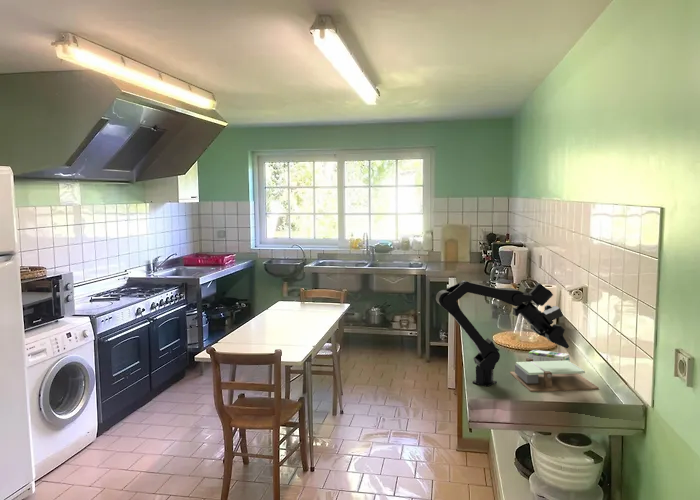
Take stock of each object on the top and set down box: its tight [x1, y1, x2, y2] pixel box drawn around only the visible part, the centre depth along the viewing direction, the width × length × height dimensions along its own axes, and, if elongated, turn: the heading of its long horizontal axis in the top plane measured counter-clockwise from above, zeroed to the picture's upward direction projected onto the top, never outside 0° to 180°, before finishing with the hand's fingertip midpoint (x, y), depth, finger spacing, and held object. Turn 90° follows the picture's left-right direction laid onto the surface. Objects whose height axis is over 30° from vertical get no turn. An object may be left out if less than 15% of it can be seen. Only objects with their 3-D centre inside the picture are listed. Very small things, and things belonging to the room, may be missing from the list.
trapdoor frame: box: [509, 357, 600, 393], centre depth 198 cm, size 24×22×6 cm
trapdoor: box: [514, 360, 586, 384], centre depth 198 cm, size 20×14×4 cm
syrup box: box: [527, 349, 571, 362], centre depth 215 cm, size 6×6×14 cm
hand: (562, 344), depth 198 cm, fingers open, 9 cm apart
